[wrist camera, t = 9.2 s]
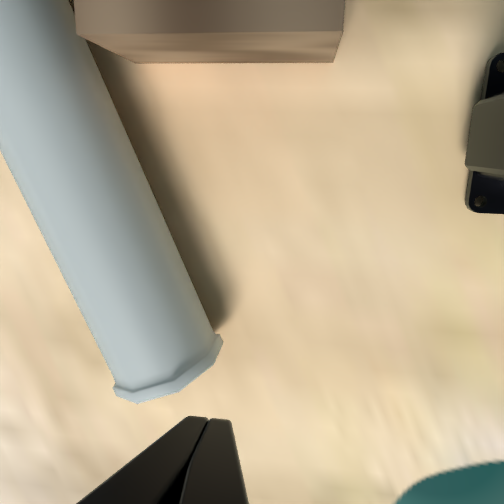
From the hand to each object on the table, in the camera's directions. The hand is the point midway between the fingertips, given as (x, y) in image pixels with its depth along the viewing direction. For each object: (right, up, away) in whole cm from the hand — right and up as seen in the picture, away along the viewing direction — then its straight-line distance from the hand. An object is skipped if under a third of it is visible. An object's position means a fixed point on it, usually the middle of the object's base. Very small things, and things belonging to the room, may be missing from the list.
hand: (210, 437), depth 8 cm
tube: (-7, +10, +12) cm, 18 cm away
